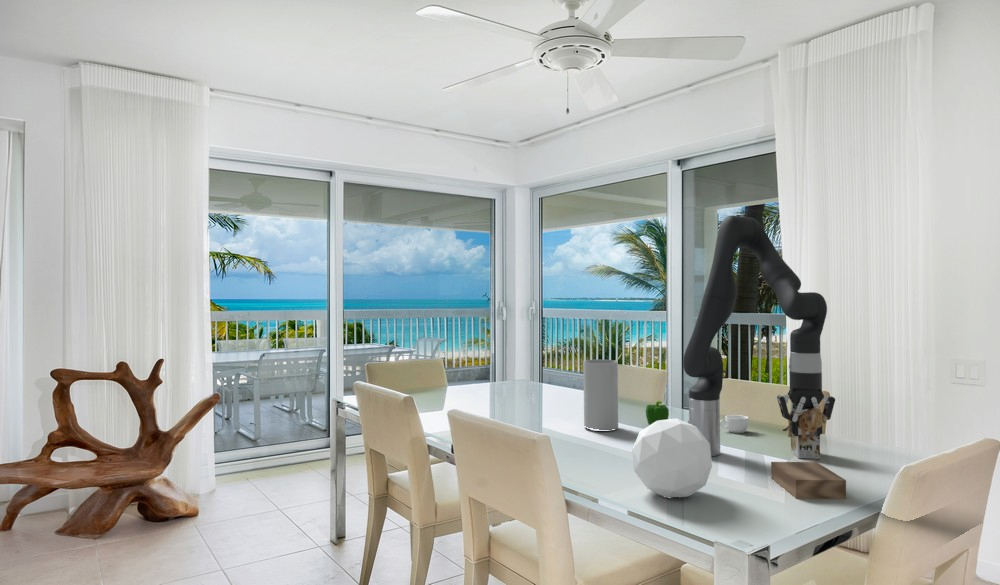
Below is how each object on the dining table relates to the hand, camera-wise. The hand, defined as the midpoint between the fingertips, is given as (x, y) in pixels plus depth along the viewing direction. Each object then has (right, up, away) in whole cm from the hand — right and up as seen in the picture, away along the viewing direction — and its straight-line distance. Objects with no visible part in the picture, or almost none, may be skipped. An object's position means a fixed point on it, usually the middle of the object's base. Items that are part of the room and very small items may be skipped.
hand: (806, 435), depth 161 cm
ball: (-36, -14, -4) cm, 38 cm away
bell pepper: (-20, -14, +73) cm, 77 cm away
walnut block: (0, -14, 0) cm, 14 cm away
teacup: (+5, -13, +63) cm, 65 cm away
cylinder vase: (-41, -14, +71) cm, 83 cm away
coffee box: (+15, -13, +31) cm, 37 cm away
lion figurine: (0, -1, +1) cm, 2 cm away
